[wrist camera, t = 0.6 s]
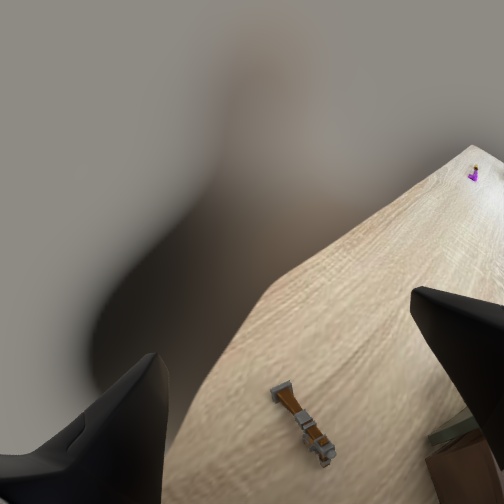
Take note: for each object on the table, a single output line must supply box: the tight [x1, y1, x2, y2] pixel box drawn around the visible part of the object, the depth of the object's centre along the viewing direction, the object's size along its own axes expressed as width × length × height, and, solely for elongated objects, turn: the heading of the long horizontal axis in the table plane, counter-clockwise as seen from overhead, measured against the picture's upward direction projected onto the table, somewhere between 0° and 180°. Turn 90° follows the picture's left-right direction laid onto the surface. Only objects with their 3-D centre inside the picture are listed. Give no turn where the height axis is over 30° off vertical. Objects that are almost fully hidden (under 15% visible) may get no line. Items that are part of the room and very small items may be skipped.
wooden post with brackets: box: [270, 380, 336, 468], centre depth 17 cm, size 2×8×4 cm, turn 25°
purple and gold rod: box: [469, 165, 478, 181], centre depth 55 cm, size 3×1×16 cm
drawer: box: [428, 407, 484, 451], centre depth 11 cm, size 17×12×7 cm
